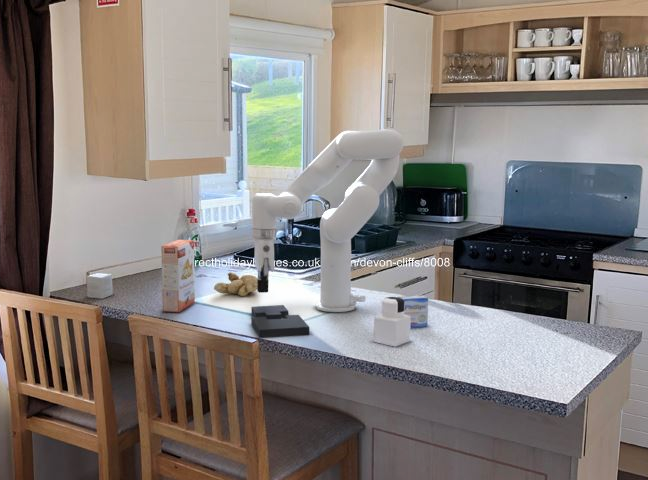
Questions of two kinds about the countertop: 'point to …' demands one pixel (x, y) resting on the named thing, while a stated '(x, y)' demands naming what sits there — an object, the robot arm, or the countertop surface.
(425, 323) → the medicine box
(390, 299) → the medicine bottle
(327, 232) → the robot arm
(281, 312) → the pad
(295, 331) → the notch pad
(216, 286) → the ginger root
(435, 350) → the countertop surface
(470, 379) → the countertop surface
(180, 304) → the cracker box
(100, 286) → the product box
